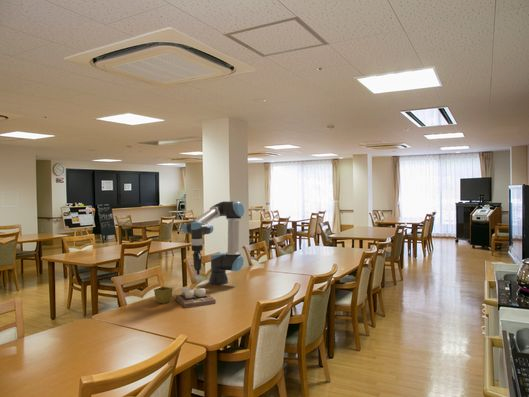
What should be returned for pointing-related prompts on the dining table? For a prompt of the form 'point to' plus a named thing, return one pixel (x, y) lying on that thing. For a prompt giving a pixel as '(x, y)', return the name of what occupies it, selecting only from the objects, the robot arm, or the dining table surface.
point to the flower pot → (163, 294)
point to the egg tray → (195, 300)
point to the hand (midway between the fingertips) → (197, 279)
